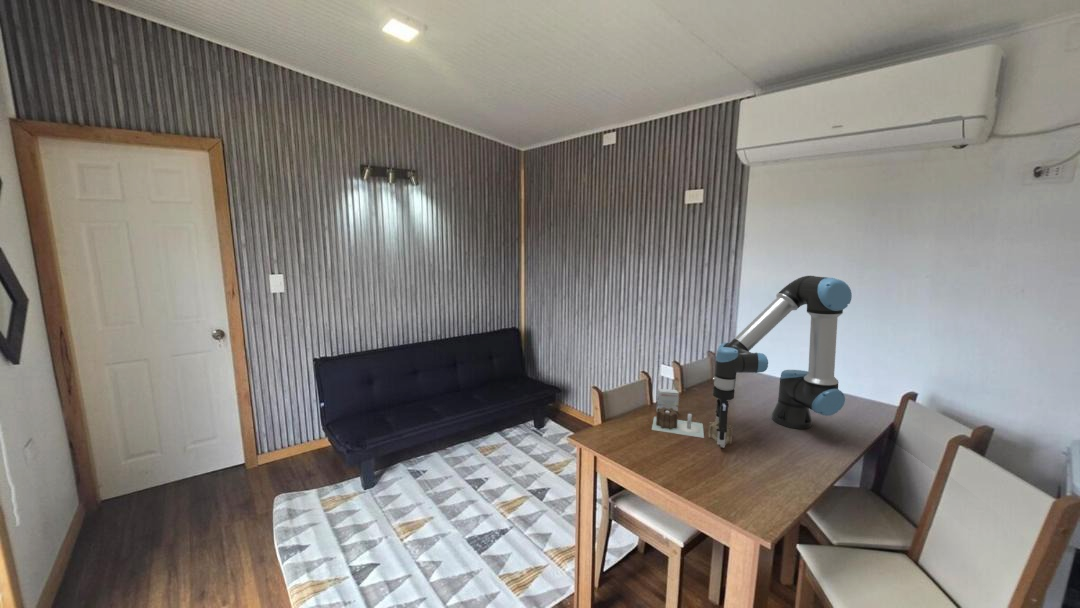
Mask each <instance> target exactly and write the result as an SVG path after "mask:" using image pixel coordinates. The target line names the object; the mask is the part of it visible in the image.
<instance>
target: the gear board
mask: <svg viewBox="0 0 1080 608" xmlns="http://www.w3.org/2000/svg"><path fill="white" fill-rule="evenodd" d="M669 412H670V411H666V413H669ZM692 418H693V414H692V413H687V420H681V419H678V421H677V428H672V429H668V428H661V426H659V425H656V419H657V416H656V415H655V416H653V421H652V425H651V430H652V431H658V432H662V433H663V432H664V433H669V434H677V435H683V436H687V437H688V436H689V437H696V438H703V439H704V438H705V435H704V425H703V423H702V422H701V423H700V422H697V421H696V422H695V421H692Z"/></svg>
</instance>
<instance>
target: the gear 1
mask: <svg viewBox="0 0 1080 608" xmlns="http://www.w3.org/2000/svg"><path fill="white" fill-rule="evenodd" d="M656 410H657V411H656V417H657V419H656V425H659V426H661V428H668V429H672V428H677V421H678V420H679V419H678V418H679V410H678V411H675V410H673V408H670V409H669V408H665V407H663V408H661V409H660V408H658V409H657V408H656ZM666 411H670V412H669V413H666Z"/></svg>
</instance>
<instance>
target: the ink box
mask: <svg viewBox="0 0 1080 608" xmlns="http://www.w3.org/2000/svg"><path fill="white" fill-rule="evenodd" d="M656 399H657V400H656V410H655V411H656V412H657V409H658V408H660V409H661V408H663V407H665V408H669V409H670V408H673V410H675V411H678V412H679V403H680V401H679V399H680V392H679V391H678V390H677V389H668V388H667V389H666V388H665V389H664V388H658V389H657V398H656Z"/></svg>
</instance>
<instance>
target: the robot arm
mask: <svg viewBox="0 0 1080 608" xmlns="http://www.w3.org/2000/svg"><path fill="white" fill-rule="evenodd" d="M850 287H851V286H849V285H848V284H847V283H846V282H845V281H843V280H841V279H837V278H835V277H827V276H816V275H804V276H801V277H797V278H796V279H794V280H793V281H791V282H789V283H788V284H787V285H786V286H784V287H783V288H782V289H780V290H779V292H778V293H776V298H775V299H774V300H773V301H772V302H771V303H769V305H768V306H767V307H766V308H764V309H763V310H762V311H761V313H759V314H758V315H757V316H756V317H755V318H754V319H753V320H752V321H751V322H749V324H748V325H747V326H746V327H745V328H743V330H742V331H741V332H739V333H738V334H737V335H736V336H735V337H734V338H733V339H732V340H731V341H730V342H723V343H721V344H719V346H718V348H717V349H716V354H715V355H716V356H715V369H714V377H713V378H712V381H713V385H714V386H713V389H712V396H713V397H714V398H716V411H715V421H717V422H719V429H717V431H718V437H717V441H716V445H719V447H720V448H723V449H724V448H725V446H726V445H725V437H726V432H727V424H728V413H729V401H732V400H734V398H735V388H736V382H737V381H736V379H737V374H742V373H743V374H744V373H745V374H746V373H747V374H748V373H749V374H750V373H755V374H756V373H757V374H758V373H764V372H766V370H767V369H768V367H769V360H768V357H767V355H766V354H764V353H761V352H751V350H752V349H753V348H755V346H756V345H757V344H758V343H759V342H760V341H762V340H763V338H764V337H765V336H767V335H768V334H769V333H770V332H771V331H772V330H773V329H774V328H775V327H776V326H778V324H779V323H780V322H781V321H782V320H784V319H785V318H786V317H787V316H788V315H789V314H790V313H791V312H792V311H797V310H799V308H801V307H802V306H805V305H806V313H807V314H808V315H809V316H810V333H809V351H808V369H807V370H801V369H784V370H783V371H781V373H780V377H779V384H778V385H779V387H778V397H777V399H778V400H777V403H776V405H775V407H774V408H773V410H772V412H771V420H772V421H773V422H775V423H777V424H778V425H781V426H784V427H786V428H791V429H798V430H807V429H810V428H811V427H812V425H813V420H812V416H811V411H812V412H814V413H816V414H819V415H822V416H827V417H828V416H834V415H835V414H837V413H838V412H839V411H841V410H842V408H843V407H844V405H845V403H846V396H845V393H843V391H842V390H840V389H839V379H837V378H836V377H835V368H836V367H835V365H836V352H837V351H836V349H837V333H838V318H839V317H840V316H842V315H843V313H844V310H845V309H846V308H848V306H849V305H850V304H851V301H852V297H853V296H852V290H851V288H850ZM810 410H811V411H810ZM723 428H724V429H723Z"/></svg>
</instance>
